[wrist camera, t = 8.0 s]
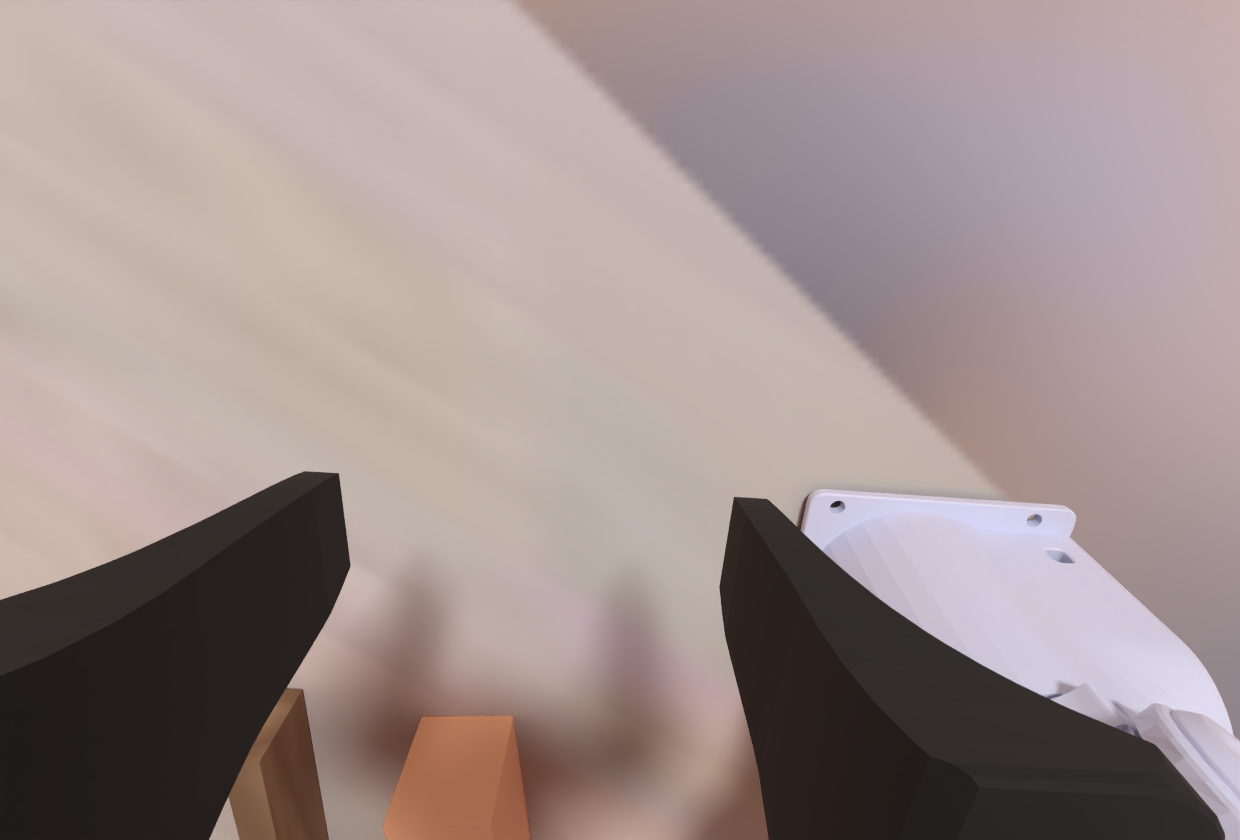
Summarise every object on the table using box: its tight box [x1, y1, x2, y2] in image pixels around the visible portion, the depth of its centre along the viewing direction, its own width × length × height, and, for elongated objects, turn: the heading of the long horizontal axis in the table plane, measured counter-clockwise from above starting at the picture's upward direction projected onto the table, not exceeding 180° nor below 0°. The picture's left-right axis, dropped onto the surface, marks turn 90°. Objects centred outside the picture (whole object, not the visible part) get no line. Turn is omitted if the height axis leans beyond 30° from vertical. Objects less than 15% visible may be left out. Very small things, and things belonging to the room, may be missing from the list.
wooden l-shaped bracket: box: [229, 688, 328, 840], centre depth 29 cm, size 14×13×4 cm
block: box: [382, 716, 530, 840], centre depth 28 cm, size 8×4×5 cm, turn 2°
